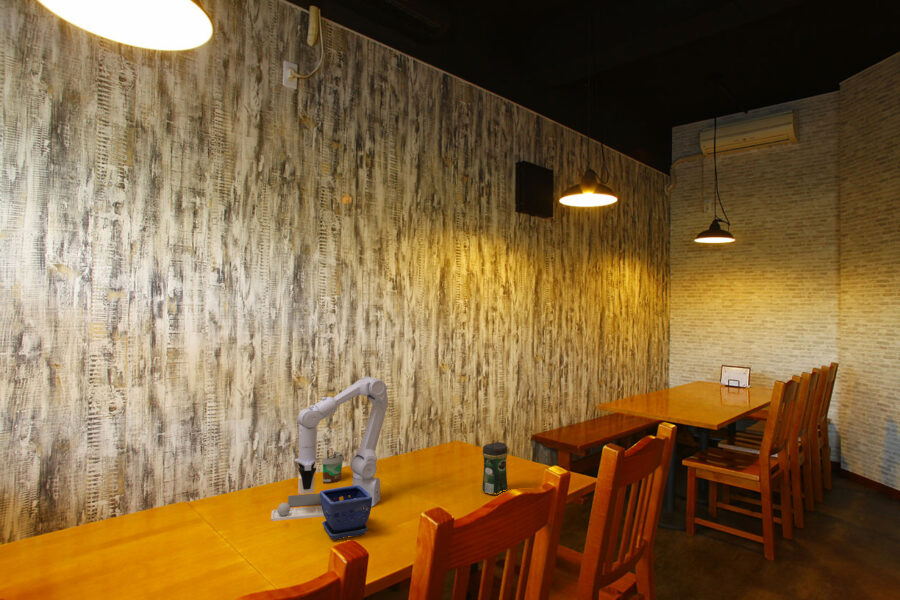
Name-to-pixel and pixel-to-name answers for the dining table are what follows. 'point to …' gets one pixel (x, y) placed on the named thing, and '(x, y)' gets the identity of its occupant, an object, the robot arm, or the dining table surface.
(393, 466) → the dining table surface
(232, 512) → the dining table surface
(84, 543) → the dining table surface
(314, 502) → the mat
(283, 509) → the grey ball
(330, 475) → the food container
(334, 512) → the flower pot
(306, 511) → the sorting tray
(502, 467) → the coffee jar
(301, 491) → the letter cube
